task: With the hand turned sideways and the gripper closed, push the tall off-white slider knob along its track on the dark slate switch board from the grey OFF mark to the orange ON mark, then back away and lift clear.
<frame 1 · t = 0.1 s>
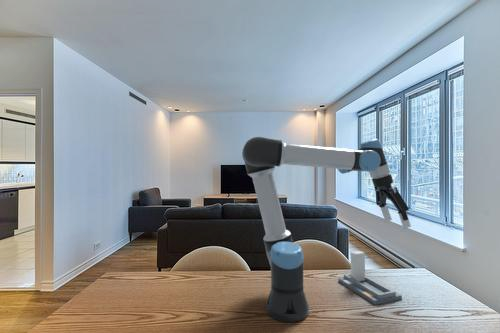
hand: (397, 224, 114), 27 cm above the table, tool tilted 20°, fingers open, 13 cm apart
switch board: (367, 289, 115), on the table
switch tab: (357, 266, 120), point 8 cm above the table, slide at 0.0 cm
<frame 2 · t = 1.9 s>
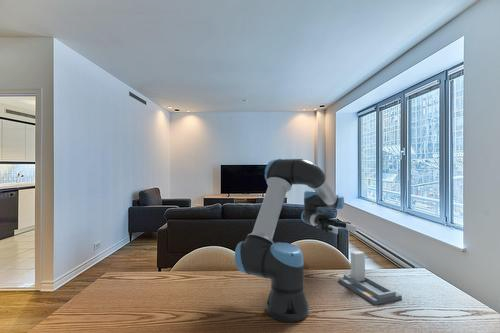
hand: (346, 230, 128), 22 cm above the table, tool horizontal, fingers open, 9 cm apart
nothing on the table moved.
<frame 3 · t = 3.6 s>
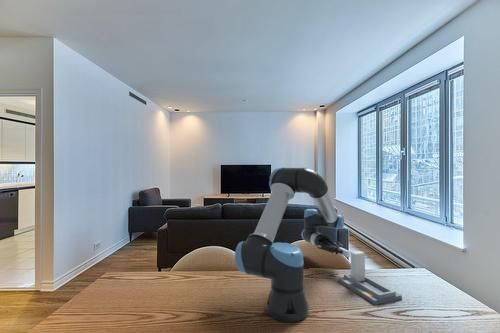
hand: (348, 254, 127), 11 cm above the table, tool horizontal, fingers closed
nothing on the table moved.
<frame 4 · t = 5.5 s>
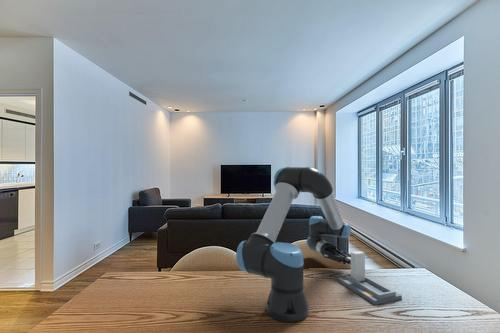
hand: (356, 264, 122), 8 cm above the table, tool horizontal, fingers closed
switch tab: (357, 266, 120), point 8 cm above the table, slide at 0.0 cm, touching gripper
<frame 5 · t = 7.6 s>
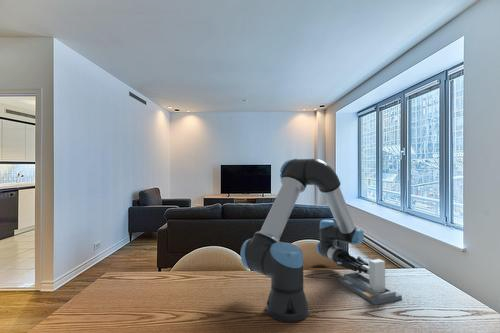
hand: (374, 273, 111), 8 cm above the table, tool horizontal, fingers closed
switch tab: (377, 275, 110), point 8 cm above the table, slide at 11.4 cm, touching gripper
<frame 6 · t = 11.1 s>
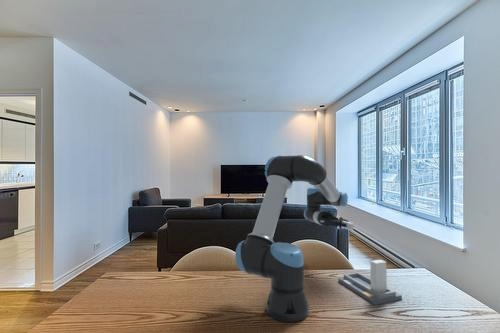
hand: (352, 226, 124), 24 cm above the table, tool horizontal, fingers closed
switch tab: (378, 276, 109), point 8 cm above the table, slide at 12.0 cm
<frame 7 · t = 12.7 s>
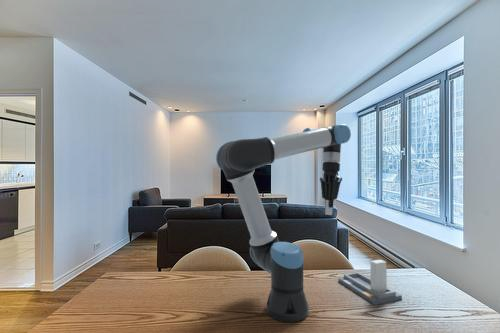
hand: (328, 214, 122), 30 cm above the table, tool pointing down, fingers closed
nothing on the table moved.
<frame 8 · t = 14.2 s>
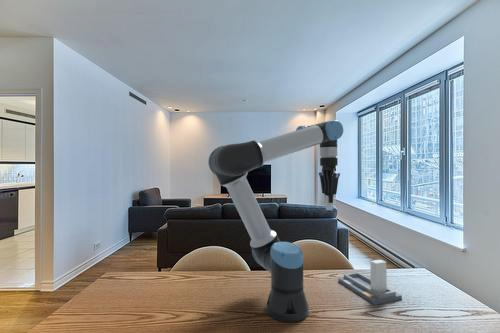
hand: (329, 209, 122), 32 cm above the table, tool pointing down, fingers closed
nothing on the table moved.
at the end: switch tab slide at 12.0 cm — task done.
